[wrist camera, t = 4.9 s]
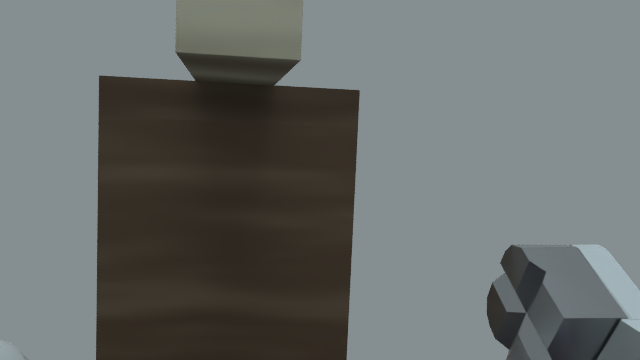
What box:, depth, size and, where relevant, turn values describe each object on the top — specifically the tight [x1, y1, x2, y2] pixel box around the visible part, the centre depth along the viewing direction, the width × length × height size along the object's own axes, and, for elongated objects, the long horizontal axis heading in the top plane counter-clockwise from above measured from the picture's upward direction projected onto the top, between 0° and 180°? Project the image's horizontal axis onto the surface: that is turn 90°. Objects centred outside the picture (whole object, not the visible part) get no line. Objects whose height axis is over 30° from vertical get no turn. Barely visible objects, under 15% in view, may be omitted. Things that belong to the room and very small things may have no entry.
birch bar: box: [176, 0, 303, 86], centre depth 24 cm, size 22×3×3 cm, turn 9°
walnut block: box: [96, 76, 360, 360], centre depth 30 cm, size 14×10×26 cm
